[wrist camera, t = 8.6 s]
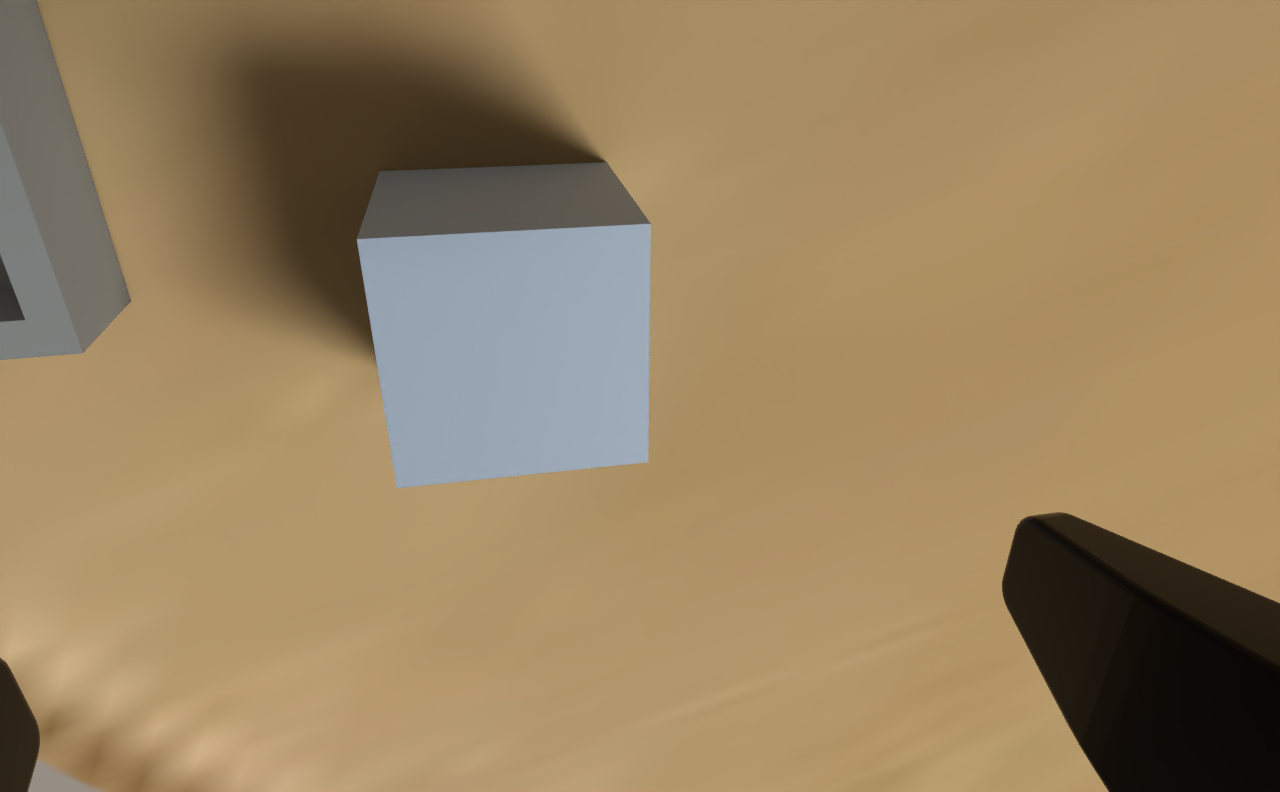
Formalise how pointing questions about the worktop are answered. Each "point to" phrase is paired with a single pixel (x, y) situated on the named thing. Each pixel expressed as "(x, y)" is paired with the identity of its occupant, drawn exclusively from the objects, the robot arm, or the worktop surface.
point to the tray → (47, 206)
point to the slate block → (508, 319)
